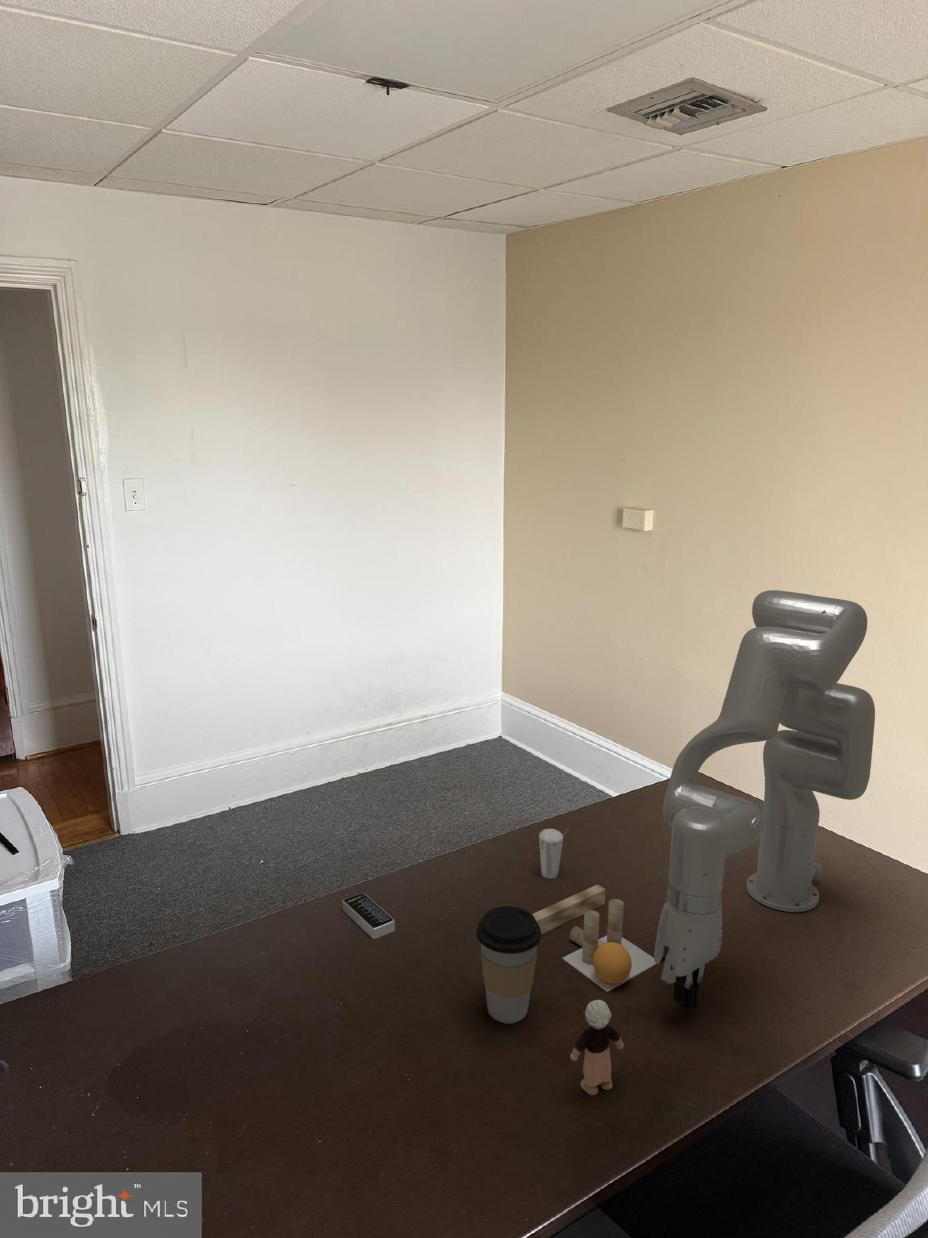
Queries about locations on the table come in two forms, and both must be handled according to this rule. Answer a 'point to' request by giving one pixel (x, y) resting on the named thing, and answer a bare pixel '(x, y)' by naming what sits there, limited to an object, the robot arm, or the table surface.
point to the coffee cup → (508, 960)
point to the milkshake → (550, 852)
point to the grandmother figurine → (596, 1048)
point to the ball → (612, 962)
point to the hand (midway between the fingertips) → (685, 1003)
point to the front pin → (579, 936)
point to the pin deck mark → (639, 965)
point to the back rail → (570, 908)
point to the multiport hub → (368, 915)
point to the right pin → (615, 921)
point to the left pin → (590, 936)
